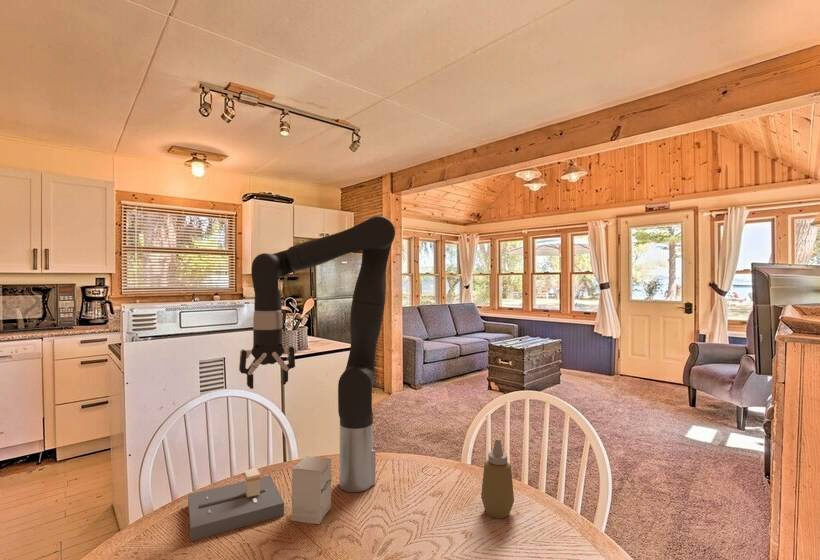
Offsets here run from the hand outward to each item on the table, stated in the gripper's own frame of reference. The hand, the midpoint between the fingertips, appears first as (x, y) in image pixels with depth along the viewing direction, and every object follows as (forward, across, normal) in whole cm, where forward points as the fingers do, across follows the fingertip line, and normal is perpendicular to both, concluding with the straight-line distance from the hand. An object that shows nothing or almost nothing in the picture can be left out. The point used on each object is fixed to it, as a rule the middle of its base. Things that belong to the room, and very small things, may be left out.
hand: (267, 386), depth 111 cm
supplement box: (+28, -7, +18) cm, 34 cm away
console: (+28, +9, +7) cm, 30 cm away
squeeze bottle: (+28, -47, +40) cm, 68 cm away
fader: (+25, +5, +7) cm, 26 cm away
